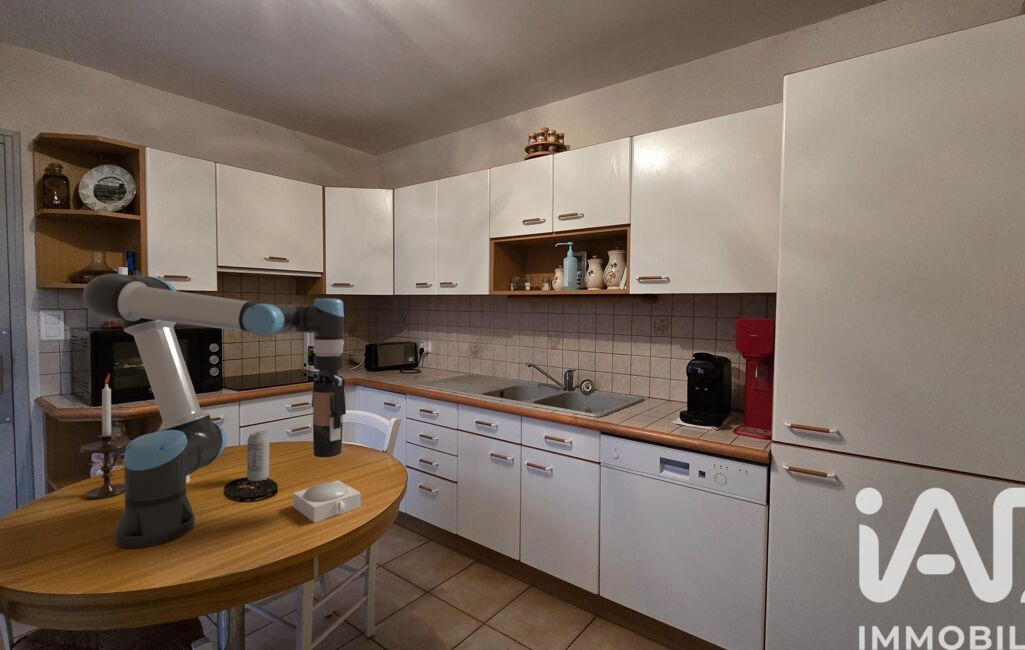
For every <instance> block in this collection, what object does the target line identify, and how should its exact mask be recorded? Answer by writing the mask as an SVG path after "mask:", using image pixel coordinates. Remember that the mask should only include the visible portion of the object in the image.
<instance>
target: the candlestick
mask: <svg viewBox="0 0 1025 650" xmlns="http://www.w3.org/2000/svg"><path fill="white" fill-rule="evenodd" d="M110 377H111V375H110V374H108V375H107V376H106V378H105V380H104V384H105V385H104V388H102V389H101V395H102V396H101V412H102V414H101V419H102V421H101V423H102V424H101V426H102V428H101V429H102V430H101V432H102V434H99V435H97V437H98V438H101V440H98V441H94V442H89V443H85V444H84V445H81V446H80V453H83V454H102V455H103V465H101V466H100V468H99V470H100V471H101V472H102V475H101V476H100V478H101V479H103V484H102V485H101V486H98V487H95V488H92V489H90V490H88V491H87V492H85V494H84V495H85V499H86V500H92V501H93V500H105V499H109V498H114V497H117V496H120V495H123V494H125V483H115V484H114V483H113V484H112V483H111V477H113V474H112V473H111V471H112V470H113V469H114V466H113V464H111V453H113V452H115V451H121V450H124V449H126V447H127V445H128V444H129V443H130V442H131V441H132V439H128V438H112V436H115V435H116V434H117V433H113V432H112V388H110V387H109V380H110Z"/></svg>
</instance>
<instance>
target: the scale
mask: <svg viewBox="0 0 1025 650" xmlns="http://www.w3.org/2000/svg"><path fill="white" fill-rule="evenodd" d="M292 494H293V495H292V496H293V497H292V498H293V499H292V501H293V502H292V503H293V504H292V505H293V506H292V508H294V509H295V510H296V511H298V513H300V514H302V515H303V516H305V517H306V518H307V519H308V520H310V521H311V522H313V523H314V524H315V523H318V522H321V521H323V520H327V519H329V518H332V517H336V516H339V515H342V514H344V513H347V512H350V511H353V510H356V509H360V508H362V493H361V492H360V491H359V490H356V489H354V488H353V487H351V486H349V485H347V484H345V483H344V482H342V481H340V480H335V481H330V482H324V483H319V484H315V485H313V486H311V487H309V488H305V489H302V490H299V491H295V492H293V493H292Z"/></svg>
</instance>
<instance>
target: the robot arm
mask: <svg viewBox="0 0 1025 650" xmlns="http://www.w3.org/2000/svg"><path fill="white" fill-rule="evenodd" d="M82 298H83V300H82V301H83V303H84V306H85V307H86V309H88V311H89V312H90V313H91V314H93V315H94V316H95V317H98V318H101V319H104V320H107V321H120V323H121V326H122V329H123V331H124V333H127V334H129V335H131V336H133V338H134V341H135V343H136V346H137V349H138V353H139V355H140V358H141V362H142V365H143V367H144V370H145V373H146V375H147V379H148V382H149V385H150V388H151V391H152V393H153V396H154V399H155V403H156V405H157V409H158V411H159V414H160V416H161V420H162V422H161V425H160V426H159V428H158V431H157V430H156V431H154V432H151V433H147V434H146V433H145V434H143V435H140V436H138V437H136V438H134V439H131V442H130V443H129V444H128V445H127V447H126V448H124V449H125V451H124V457H123V465H124V485H125V492H124V508H123V510H122V513H121V516H120V518H119V521H118V523H117V525H116V527H115V528H116V529H115V530H114V531H115V532H114V544H115V545H116V546H118V547H120V548H127V549H138V548H139V549H140V548H146V547H151V546H156V545H160V544H164V543H167V542H170V541H172V540H175V539H178V538H180V537H182V536H184V535H185V534H187V533H188V532H190V531H191V530H192V529H193V528H194V527H195V524H196V520H195V519H196V518H195V517H196V515H195V513H194V512H195V511H194V510H193V508H192V505H191V503H190V501H189V498H188V496H187V483H186V476H188V475H190V476H191V474H193V473H195V472H197V471H198V470H200V469H202V468H204V467H207V466H208V465H210V464H212V463H213V462H214V461H215V460H217V459H218V458H219V457H220V456H221V455H222V454H223V452H224V450H225V448H226V446H227V434H226V432H225V430H224V428H223V426H221V424H217V422H215V421H213V420H212V418H211V416H210V412H206V411H204V410H202V408H201V407H200V404H199V401H198V397H197V394H196V391H195V389H194V385H193V382H192V379H191V376H190V374H189V371H188V368H187V364H186V361H185V359H184V356H183V353H182V350H181V347H180V344H179V341H178V337H177V333H176V331H175V329H174V327H175V325H176V324H184V325H185V324H186V325H191V326H200V327H209V328H215V329H223V330H230V331H231V330H232V331H237V332H238V331H240V332H245V333H251V334H252V335H254V336H261V337H270V336H273V335H274V336H275V335H280V334H282V335H283V334H291V333H309V334H311V333H312V334H313V353H314V354H315V355H314V356H313V368H314V370H315V371H316V370H317V371H318V372H315V373H313V374H312V378H313V386H312V387H313V388H312V396H311V407H312V408H313V395H314V383H315V382H316V381H318V383H319V384H322V383H324V384H331V383H333V385H334V386H333V389H334V396H333V395H331V394H330V408H331V414H332V415H330V416H329V417H330V441H335V440H339V439H341V416H342V415H343V416H344V415H346V414H347V410H346V394H345V382H346V379H345V377H340V374H339V370H341V369H343V368H344V356H343V355H342V354H343V353H344V345H345V342H344V326H345V325H344V324H345V323H344V322H345V321H344V319H345V314H344V302H343V300H341V299H339V298H318V297H317V298H315V299H314V302H313V304H311V305H305V304H304V305H303V304H272V303H264V302H257V301H247V300H242V299H234V298H229V297H227V298H226V297H220V296H215V295H214V296H213V295H206V294H198V293H192V292H184V291H180V290H179V291H178V290H177V289H176V288H175V286H174V285H172V283H170V282H168V281H166V280H165V279H161V278H157V277H153V276H148V275H143V276H142V275H131V274H122V273H107V274H106V273H105V274H102V275H99V276H97V277H94V278H93V279H91V280H90V281H89V282H88V283H87V284H86V285H85V287H84V289H83V292H82Z"/></svg>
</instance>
